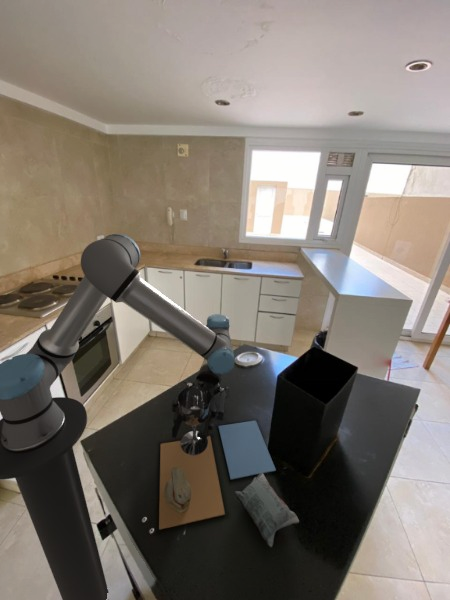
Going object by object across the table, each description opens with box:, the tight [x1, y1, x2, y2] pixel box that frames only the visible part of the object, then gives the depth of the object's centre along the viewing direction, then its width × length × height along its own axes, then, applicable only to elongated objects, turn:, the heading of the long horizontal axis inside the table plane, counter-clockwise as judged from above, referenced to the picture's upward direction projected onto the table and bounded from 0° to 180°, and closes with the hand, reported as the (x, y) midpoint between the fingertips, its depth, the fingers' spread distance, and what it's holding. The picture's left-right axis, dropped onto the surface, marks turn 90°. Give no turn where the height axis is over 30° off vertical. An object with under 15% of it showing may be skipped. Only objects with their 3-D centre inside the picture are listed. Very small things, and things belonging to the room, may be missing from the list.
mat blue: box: [217, 420, 277, 480], centre depth 71 cm, size 16×12×1 cm
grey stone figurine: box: [165, 467, 191, 513], centre depth 56 cm, size 6×8×10 cm
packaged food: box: [234, 471, 300, 548], centre depth 55 cm, size 9×12×5 cm
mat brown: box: [158, 435, 226, 530], centre depth 63 cm, size 20×14×1 cm
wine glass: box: [178, 386, 211, 455], centre depth 63 cm, size 8×8×15 cm
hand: (188, 436), depth 58 cm, fingers closed on wine glass, 6 cm apart
